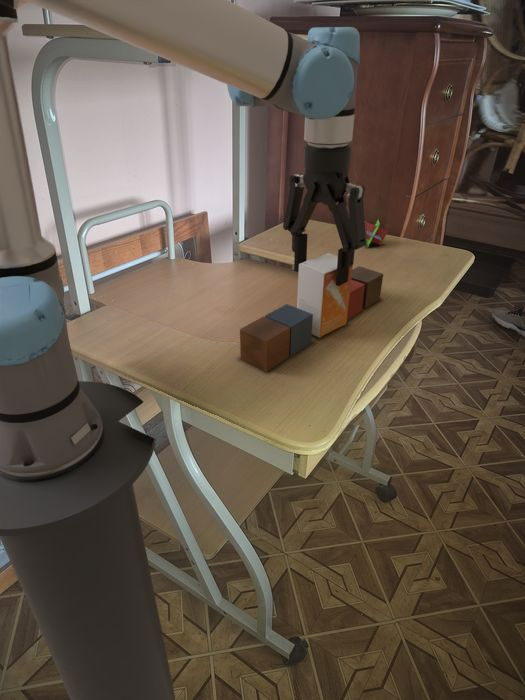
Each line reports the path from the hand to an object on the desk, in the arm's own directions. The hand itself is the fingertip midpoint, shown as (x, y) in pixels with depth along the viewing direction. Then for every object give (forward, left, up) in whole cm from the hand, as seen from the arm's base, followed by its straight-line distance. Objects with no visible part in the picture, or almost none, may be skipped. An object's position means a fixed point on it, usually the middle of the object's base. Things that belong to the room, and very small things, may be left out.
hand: (320, 275), depth 91 cm
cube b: (0, -9, -11) cm, 14 cm away
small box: (0, +1, -11) cm, 11 cm away
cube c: (0, +8, -11) cm, 14 cm away
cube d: (0, +15, -11) cm, 19 cm away
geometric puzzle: (-16, +46, -11) cm, 50 cm away
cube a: (0, -15, -11) cm, 18 cm away
